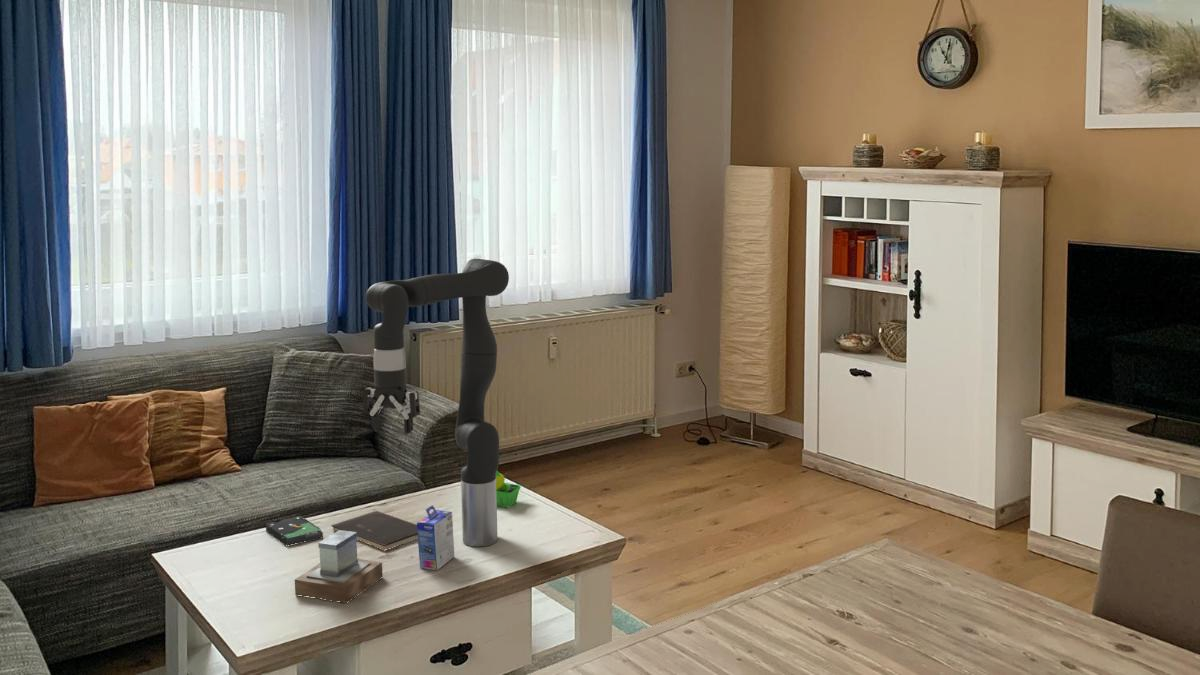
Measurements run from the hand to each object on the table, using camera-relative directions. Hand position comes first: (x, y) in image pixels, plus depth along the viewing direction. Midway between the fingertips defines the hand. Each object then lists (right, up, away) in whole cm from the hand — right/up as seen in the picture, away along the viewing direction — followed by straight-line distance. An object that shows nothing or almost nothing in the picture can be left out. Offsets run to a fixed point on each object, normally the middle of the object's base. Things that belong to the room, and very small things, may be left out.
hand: (392, 431), depth 262 cm
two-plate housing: (-12, -33, -2) cm, 35 cm away
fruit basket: (+20, -26, +57) cm, 66 cm away
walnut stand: (-12, -37, -2) cm, 39 cm away
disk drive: (-33, -31, +33) cm, 56 cm away
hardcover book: (-10, -31, +34) cm, 47 cm away
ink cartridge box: (+9, -35, +13) cm, 38 cm away
